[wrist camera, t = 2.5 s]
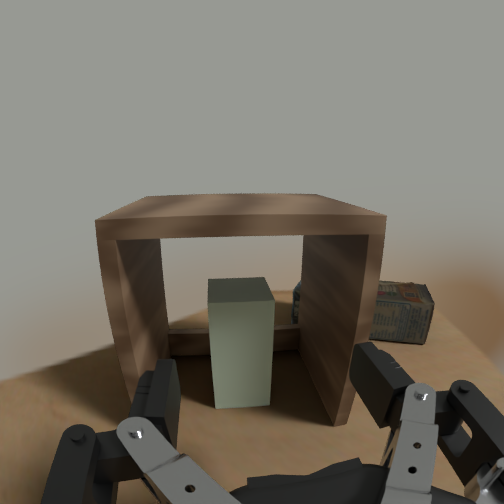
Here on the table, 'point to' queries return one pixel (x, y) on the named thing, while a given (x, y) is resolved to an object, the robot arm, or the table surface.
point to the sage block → (241, 341)
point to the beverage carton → (394, 312)
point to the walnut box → (247, 224)
